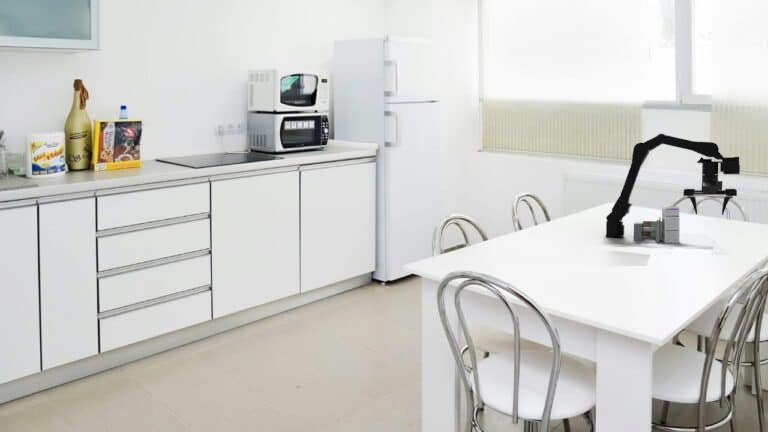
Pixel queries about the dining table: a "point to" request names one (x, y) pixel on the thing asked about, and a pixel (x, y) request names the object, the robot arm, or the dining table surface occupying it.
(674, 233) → the syrup box
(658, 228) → the gauge plunger
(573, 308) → the dining table surface
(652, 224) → the gauge housing
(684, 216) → the dining table surface
